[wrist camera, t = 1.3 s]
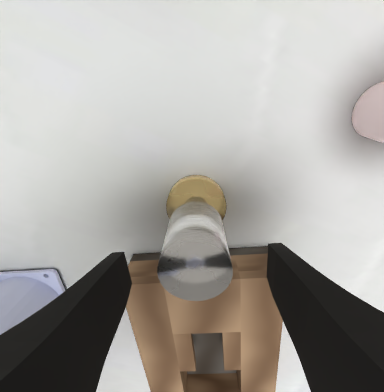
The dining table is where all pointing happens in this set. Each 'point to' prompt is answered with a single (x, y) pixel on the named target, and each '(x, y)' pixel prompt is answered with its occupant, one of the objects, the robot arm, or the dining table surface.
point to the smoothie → (370, 113)
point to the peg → (195, 241)
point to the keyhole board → (207, 329)
